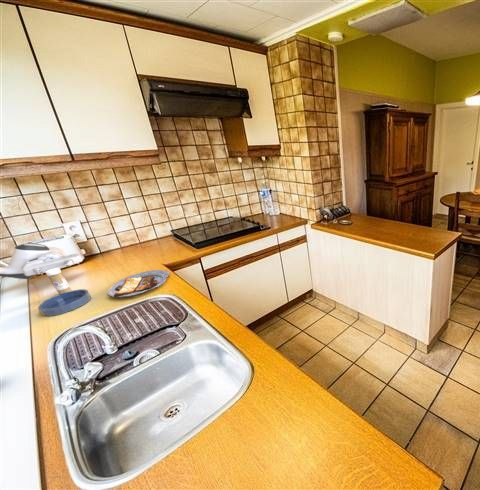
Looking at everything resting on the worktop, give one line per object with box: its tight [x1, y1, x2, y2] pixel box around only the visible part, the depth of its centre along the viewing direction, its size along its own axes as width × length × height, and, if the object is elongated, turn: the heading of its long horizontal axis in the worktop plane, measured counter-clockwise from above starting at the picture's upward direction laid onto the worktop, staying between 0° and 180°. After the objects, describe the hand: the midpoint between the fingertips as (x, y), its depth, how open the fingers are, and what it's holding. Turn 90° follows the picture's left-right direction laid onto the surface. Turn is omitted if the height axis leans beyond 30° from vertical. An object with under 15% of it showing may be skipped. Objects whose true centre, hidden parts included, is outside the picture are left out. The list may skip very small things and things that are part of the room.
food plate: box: [106, 269, 171, 299], centre depth 132 cm, size 25×23×4 cm
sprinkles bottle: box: [44, 268, 73, 295], centre depth 127 cm, size 5×5×13 cm
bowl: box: [37, 288, 92, 317], centre depth 120 cm, size 16×16×4 cm
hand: (54, 268), depth 132 cm, fingers open, 8 cm apart
